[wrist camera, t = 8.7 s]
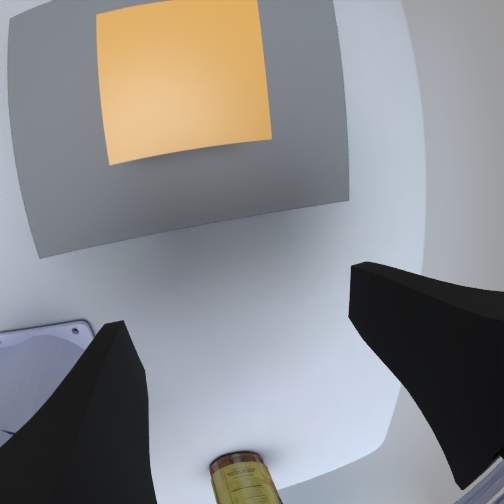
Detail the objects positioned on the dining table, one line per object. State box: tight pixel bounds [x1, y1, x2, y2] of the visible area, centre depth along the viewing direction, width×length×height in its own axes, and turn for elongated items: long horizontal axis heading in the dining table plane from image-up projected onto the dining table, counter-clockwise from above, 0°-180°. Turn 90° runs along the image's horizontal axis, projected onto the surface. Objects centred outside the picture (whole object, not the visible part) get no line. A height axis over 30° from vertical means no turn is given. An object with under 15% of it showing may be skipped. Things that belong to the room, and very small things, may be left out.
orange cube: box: [96, 0, 272, 165], centre depth 11 cm, size 6×6×5 cm
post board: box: [7, 0, 349, 259], centre depth 12 cm, size 18×14×5 cm
